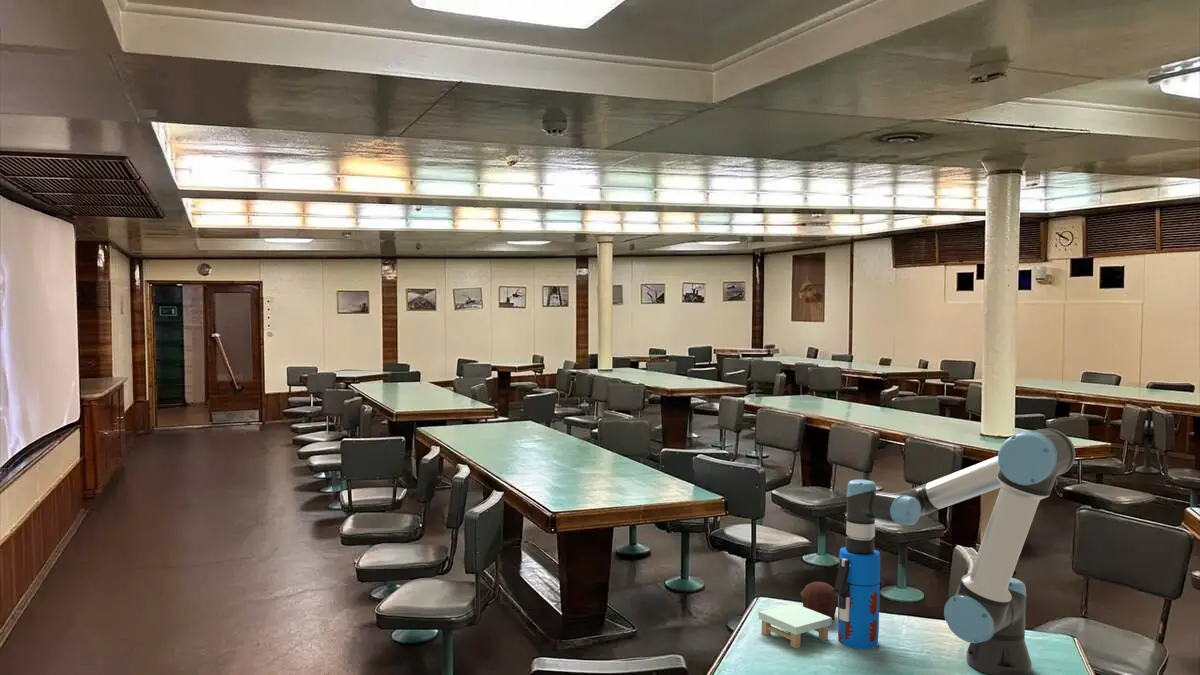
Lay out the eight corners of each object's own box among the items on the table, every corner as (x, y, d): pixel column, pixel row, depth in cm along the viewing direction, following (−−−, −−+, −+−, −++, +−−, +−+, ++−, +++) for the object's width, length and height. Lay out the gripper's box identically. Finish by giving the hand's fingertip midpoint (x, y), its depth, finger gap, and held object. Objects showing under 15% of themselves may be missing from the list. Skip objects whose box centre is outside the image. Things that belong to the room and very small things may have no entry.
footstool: (831, 639, 231) (831, 617, 231) (795, 649, 223) (796, 627, 223) (793, 623, 243) (793, 603, 242) (758, 632, 235) (758, 611, 235)
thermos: (873, 635, 234) (875, 546, 234) (882, 650, 224) (884, 557, 223) (834, 633, 235) (836, 545, 235) (841, 648, 225) (843, 555, 224)
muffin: (843, 624, 243) (844, 590, 242) (805, 623, 243) (806, 589, 243) (833, 610, 254) (833, 577, 254) (796, 609, 255) (797, 577, 255)
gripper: (876, 528, 239) (874, 604, 239) (820, 539, 226) (818, 619, 226) (898, 534, 232) (896, 612, 233) (842, 545, 219) (840, 628, 220)
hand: (858, 616), depth 229 cm, fingers closed on thermos, 11 cm apart
